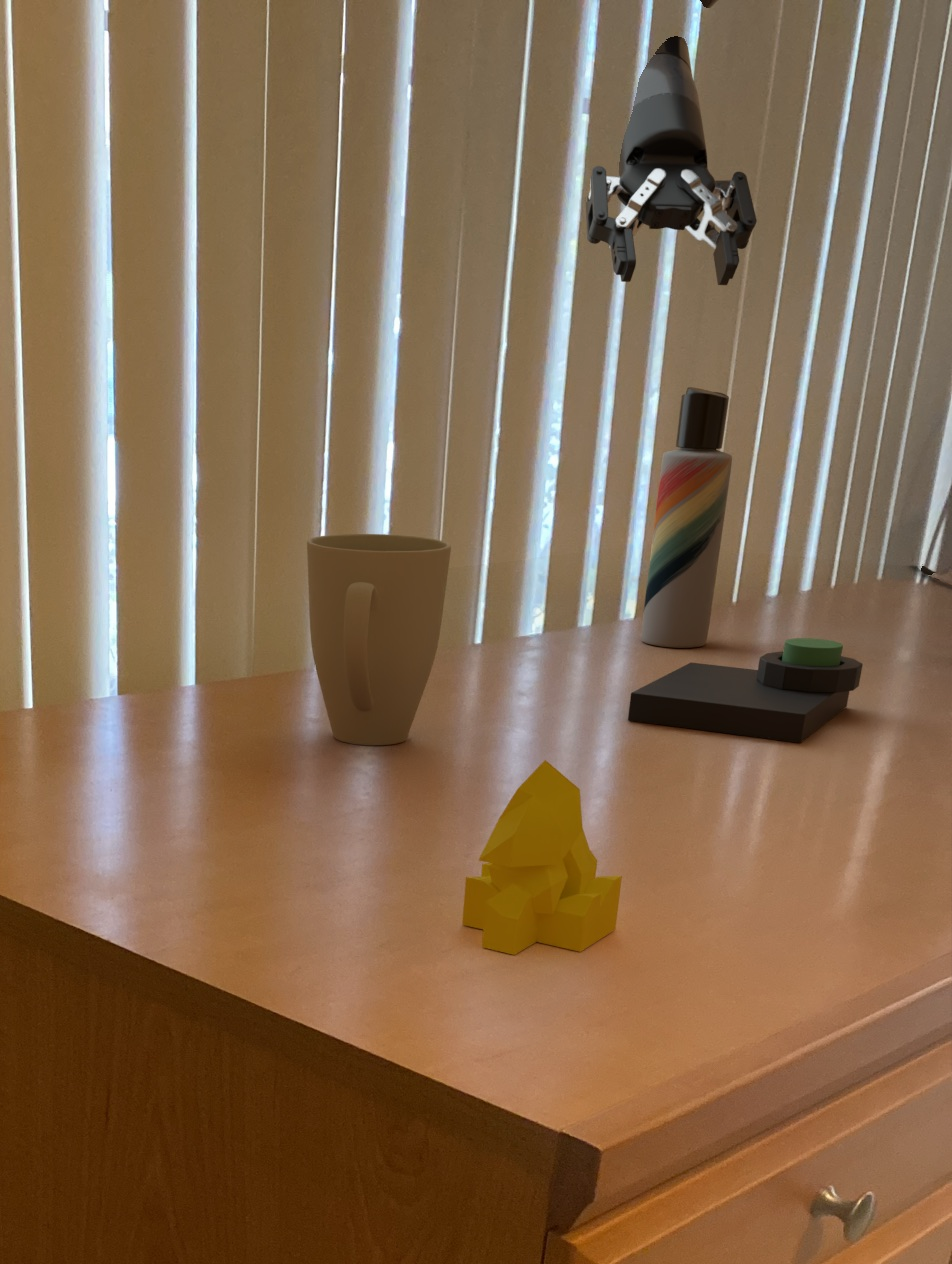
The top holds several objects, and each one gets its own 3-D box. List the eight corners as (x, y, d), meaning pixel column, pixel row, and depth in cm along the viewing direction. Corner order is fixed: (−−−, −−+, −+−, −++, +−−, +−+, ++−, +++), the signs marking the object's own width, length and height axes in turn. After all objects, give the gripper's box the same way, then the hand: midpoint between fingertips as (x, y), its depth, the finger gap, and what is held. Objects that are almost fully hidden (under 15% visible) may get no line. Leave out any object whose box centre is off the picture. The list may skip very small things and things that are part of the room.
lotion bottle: (653, 635, 145) (684, 386, 136) (715, 642, 143) (751, 388, 133) (630, 643, 141) (661, 387, 132) (694, 651, 139) (729, 390, 129)
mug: (265, 729, 108) (268, 536, 103) (393, 717, 112) (403, 531, 107) (345, 766, 100) (354, 558, 94) (481, 752, 104) (497, 552, 98)
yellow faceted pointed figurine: (634, 917, 75) (656, 748, 72) (559, 965, 70) (578, 784, 66) (520, 893, 78) (536, 729, 75) (439, 937, 72) (451, 762, 69)
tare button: (789, 658, 119) (792, 636, 118) (844, 664, 117) (848, 642, 116) (775, 666, 116) (778, 643, 115) (832, 672, 114) (836, 650, 113)
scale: (688, 686, 125) (695, 639, 123) (861, 707, 119) (870, 658, 118) (627, 720, 113) (633, 668, 112) (814, 745, 108) (824, 691, 106)
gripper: (589, 86, 139) (608, 235, 135) (751, 93, 141) (774, 241, 136) (568, 164, 147) (585, 308, 142) (722, 170, 148) (743, 313, 143)
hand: (678, 275), depth 139 cm, fingers open, 8 cm apart
